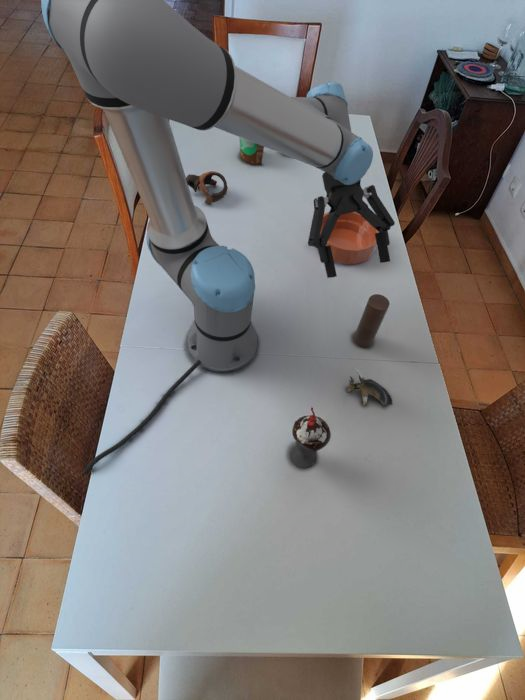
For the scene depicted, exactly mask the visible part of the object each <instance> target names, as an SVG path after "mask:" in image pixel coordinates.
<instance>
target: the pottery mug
mask: <svg viewBox="0 0 525 700" xmlns="http://www.w3.org/2000/svg"><path fill="white" fill-rule="evenodd" d="M214 176H217V177H218V178H219V179H221V181H222V183H223V187H222V189H221V190H220V191H218V192H212V193H211V194H210V193H209V189H207V187H206V186H207V185H209V186H212V187H216V186H217V183H218V181H217V180H215V179H214V178H213V177H214ZM185 177H186V180H187V183H188V187H190V188H191V189H192V190H193V191H194V193H197V191H198V190H200V191H201V193H202V194H203V196H204V197H205V200H204V203H205V204H206V205H209V206H210V205H212V204H215V203H217V202H219V201H221V200H222V199H224V198H225V196H226V195H227V192H228V189H229V187H228V183H227V180H226V178H225V176H224V175H223V174H221V172H218V171H214V170H212V171H206V172H204V173H202V174H200V175H196V174H187V176H185Z"/></svg>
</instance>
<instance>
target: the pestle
mask: <svg viewBox="0 0 525 700" xmlns="http://www.w3.org/2000/svg"><path fill="white" fill-rule="evenodd" d="M389 308H390V300H389V299H388V298H387V297H386V296H384V295H383V294H379V293H375V294H372V295H370V296H369V297H368V300H367V302H366V304H365V307H364V310H363V313H362V315H361V317H360V320H359V323H358V324H357V327H356V330H355V333H354V335H353V342H354V343H355V344H356V345H357V346H358V347H359V348H370V347H371V346H372V344H373V342H374V341H375V338H376V337H377V336H376V335H377V334H378V331H379V330H380V328H381V325H382V323H383V321H384V318H385V316H386V314H387V312H388V310H389Z"/></svg>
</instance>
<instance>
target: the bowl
mask: <svg viewBox="0 0 525 700" xmlns="http://www.w3.org/2000/svg"><path fill="white" fill-rule="evenodd" d="M328 213H329V211H327V212H324V217H323V222H322V227H321V231H322V229H323V227H324V225H325V222H326V220H327V218H328ZM375 233H379V232H378V231H377V230H376V229H375V228H374V227H373V226H372V225H371V224H370V223H369V222H367V221H366V220H365V219H364V218H363V217H362V216H361V215H360V214H359V213H356V212H353V213H347V214H344V215H340V217H339V218H338V220H337V222H336V224H335V226H334V229H333V231H332V233H331V235H330V238H329V240H328V242H327V244H326V246H331V251H332V255H333V260H334V263H339V264H343V265H356V264H361V263H364V262H366V261H367V260H370V258H371V257H372V256H373V255H374V253H375V250H376V248H377V243H376V237H375ZM320 234H321V232H320ZM316 249H317V250H318V248H316Z"/></svg>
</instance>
